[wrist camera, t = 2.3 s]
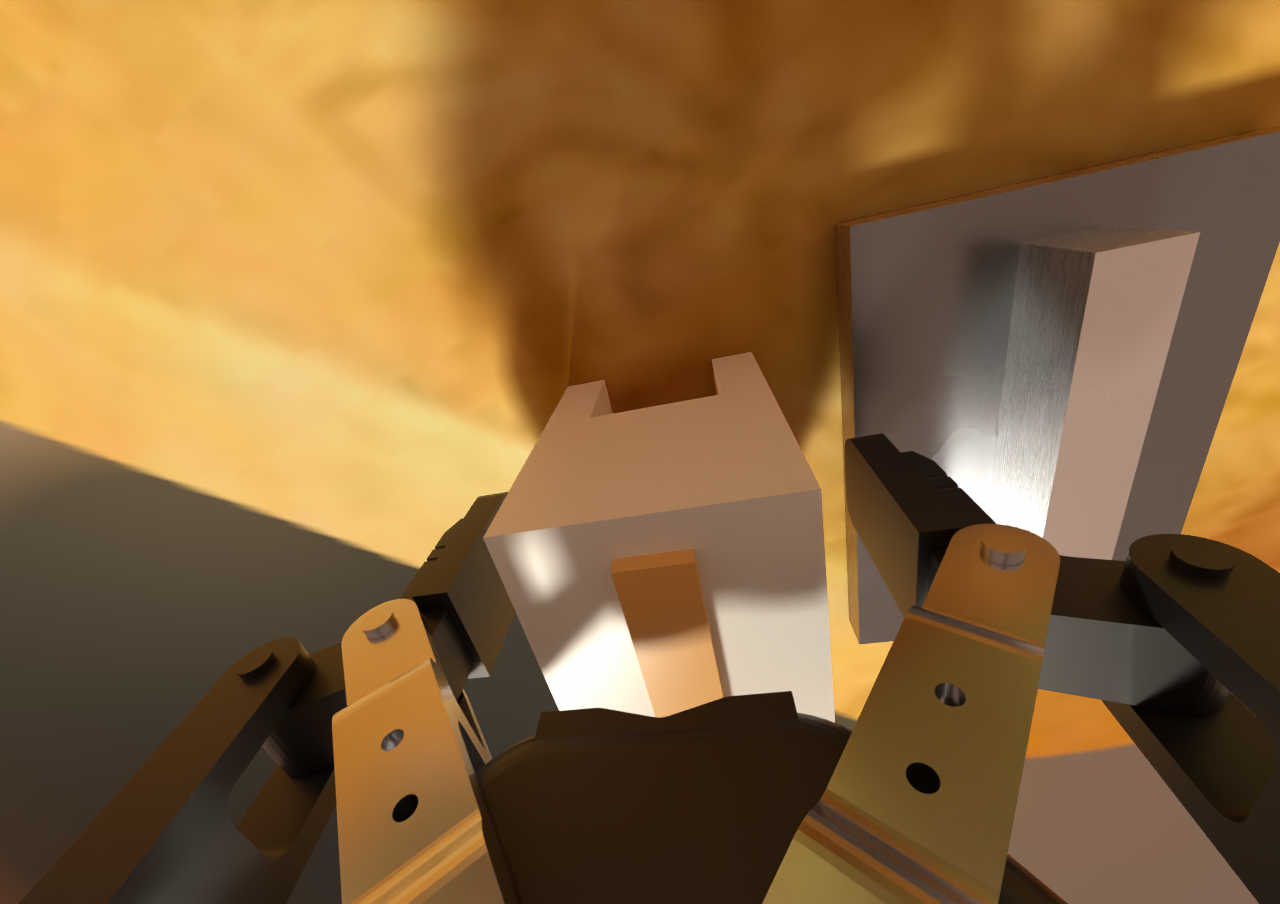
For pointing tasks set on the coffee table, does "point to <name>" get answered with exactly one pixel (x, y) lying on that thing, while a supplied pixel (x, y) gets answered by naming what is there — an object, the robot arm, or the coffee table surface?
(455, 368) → the coffee table surface
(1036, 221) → the panel
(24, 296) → the coffee table surface
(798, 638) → the block
